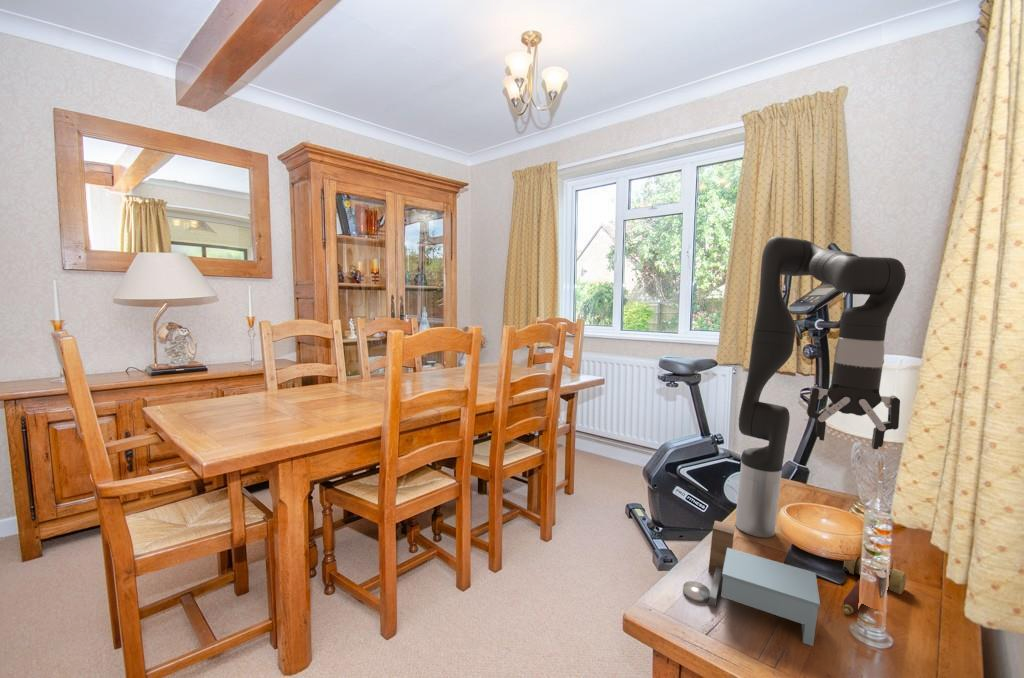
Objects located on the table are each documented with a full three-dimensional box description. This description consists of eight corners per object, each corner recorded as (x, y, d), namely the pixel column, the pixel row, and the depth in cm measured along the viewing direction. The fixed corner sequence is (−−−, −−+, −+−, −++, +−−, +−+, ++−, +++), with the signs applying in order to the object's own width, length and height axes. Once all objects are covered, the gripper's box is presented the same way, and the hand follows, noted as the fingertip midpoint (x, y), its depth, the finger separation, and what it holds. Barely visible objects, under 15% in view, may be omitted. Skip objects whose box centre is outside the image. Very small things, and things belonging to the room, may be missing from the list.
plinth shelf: (723, 583, 96) (727, 547, 95) (810, 612, 89) (815, 572, 88) (718, 613, 87) (722, 573, 86) (814, 647, 80) (820, 604, 79)
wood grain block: (710, 562, 104) (714, 520, 103) (730, 568, 102) (734, 525, 101) (700, 603, 90) (705, 555, 89) (722, 611, 88) (728, 562, 87)
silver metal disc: (684, 584, 96) (685, 578, 96) (710, 592, 94) (711, 586, 94) (680, 598, 92) (681, 591, 92) (707, 607, 89) (708, 600, 89)
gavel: (879, 617, 84) (817, 588, 92) (876, 639, 85) (814, 608, 93) (907, 569, 97) (851, 547, 105) (905, 589, 98) (849, 565, 105)
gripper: (900, 364, 88) (889, 446, 90) (812, 355, 95) (803, 432, 97) (910, 369, 82) (897, 457, 84) (815, 360, 89) (805, 441, 91)
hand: (847, 443), depth 90 cm, fingers open, 8 cm apart
